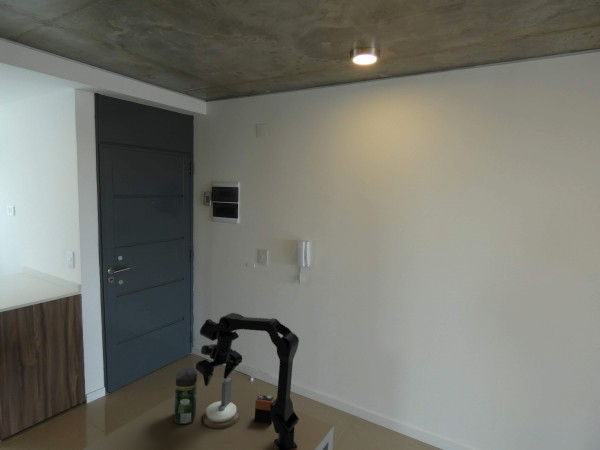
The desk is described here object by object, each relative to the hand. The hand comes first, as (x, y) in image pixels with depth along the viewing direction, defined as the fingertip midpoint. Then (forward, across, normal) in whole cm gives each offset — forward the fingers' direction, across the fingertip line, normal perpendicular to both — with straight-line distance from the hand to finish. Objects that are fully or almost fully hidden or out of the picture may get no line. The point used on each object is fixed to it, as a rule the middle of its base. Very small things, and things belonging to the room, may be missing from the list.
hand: (215, 381), depth 138 cm
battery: (+11, -13, +18) cm, 25 cm away
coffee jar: (+17, +7, -5) cm, 19 cm away
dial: (+12, -3, +4) cm, 13 cm away
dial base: (+14, -3, +4) cm, 15 cm away
